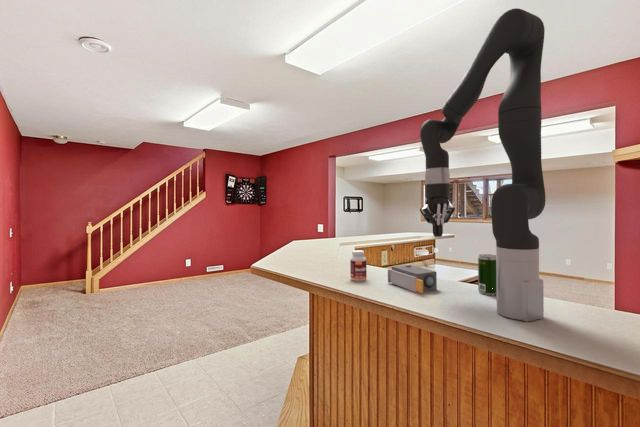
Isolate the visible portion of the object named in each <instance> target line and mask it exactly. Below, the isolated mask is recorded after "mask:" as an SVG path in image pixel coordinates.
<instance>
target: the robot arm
mask: <svg viewBox="0 0 640 427" xmlns="http://www.w3.org/2000/svg"><path fill="white" fill-rule="evenodd" d="M545 32H546V31H545V25H544V22H543V20H542V19H541V17H539V16H538V15H535V14H534V13H531V12H529V11H527V10H525V9H522V8H511V9H508V10H507V11H505V12H503V14H502V15H500V16H499V17H498V19H497V20H496V21H495V23H494V24H493V25H492V27H491V29H490V30H489V32H488V34H487V36H486V37H485V39H484V40H483V42H482V44H481V46H480V48H479V50H478V52H477V53H476V55H475V57H474V58H473V61H472V62H471V64H470V66H469V68H468V70H467V71H466V72H465V74H464V76H463V77H462V79H461V80H460V82H459V83H458V85H457V87H456V88H455V89H454V90H453V91H452V93H451V94H450V95H449V97H448V98H447V100H446V101H445V102H444V103H443V105H442V107H441V113H442V115H443V116H444V118H443V119H442V120H440V119H432V118H431V119H427V120H426V121H425V120H424V122H423V124H422V125H421V127H420V131H419V138H420V141H421V146H422V149H423V153H424V155H425V156H424V157H425V174H424V190H425V191H424V197H425V198H426V201H425V205H424V207H421V208H420V209H419V212H420V213H421V215H422V216H423V218H424V219H425V221H426V222H427V223H428V224H430V225H432V235H433V237H435V238H440V237H443V234H444V231H443V230H444V225H445V224H448V222H449V221H450V219H451V218H452V216H453V214H454V212H455V211H456V208H455V207H454V206H453V207H452V206H451V205H450V200H449V198H450V196H451V174H450V161H449V159H450V158H449V156H450V155H449V154H450V153H449V152H448V151H447V150H446V149H444V148H442V147H441V144H445V143H447V142H450V140H451V139H453V137H454V136H455V135H456V133H457V130H458V129H459V126H460V125H461V122H462V121H463V118H464V117H465V116H466V115H467V114H468V112H470V110H471V109H472V108H473V107H474V105H475V104H476V103H477V101H478V99H479V98H480V96H481V94H482V92H483V89H484V86H485V83H486V80H487V79H488V75H489V73H490V72H491V70H492V68H493V67H494V66H495V64H496V63H497V62H498V61H499V60H500V59H501V57H503V56H504V54H508V56H509V57H508V58H509V68H510V69H509V70H510V71H509V72H510V73H509V74H510V76H509V80H508V84H507V87H506V89H505V91H504V93H503V95H502V97H501V98H500V103H499V105H498V112H497V124H498V125H497V127H498V136H499V140H500V143H501V145H502V147H503V149H504V151H505V153H506V155H507V157H508V160H509V163H510V168H511V183H506V184H505V183H504V184H502V185H500V186H499V187H498V188H496V189H495V191H494V192H493V194H492V197H491V201H490V202H491V203H490V212H491V214H490V215H491V228H492V234H493V238H494V240H495V247H496V248H495V249H496V250H495V253H496V254H495V255H496V279H497V294H496V313H497V314H498V315H500V316H503V317H504V318H509V319H513V320H517V321H518V320H519V321H524V322H532V321H536V320H540V319H543V318H544V301H545V300H544V279H543V278H540V239H539V237H538V236H537V235H536V234H534V233H532V231H531V230H530V226H529V225H530V224H529V223H530V222H529V220H533V219H535V218H538V217H540V215H541V214H543V211H544V209H545V207H546V201H547V200H546V189H545V182H544V172H543V165H542V97H541V96H542V94H541V93H542V88H541V87H542V73H541V71H542V61H543V50H544V44H545V43H544V42H545Z"/></svg>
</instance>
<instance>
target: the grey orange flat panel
mask: <svg viewBox="0 0 640 427" xmlns="http://www.w3.org/2000/svg"><path fill="white" fill-rule="evenodd" d="M387 283H391V284H393V285H395V286H398V287H402V288H404V289H407V290H410V291H412V292H415V293H421V294H423V293H424V291H423V280H420V279H417V277H414V276H411V275H407V274H404V273H401V272H398V271H394V270H392V269H390V268H389V269H387ZM417 291H418V292H417Z"/></svg>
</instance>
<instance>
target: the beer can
mask: <svg viewBox="0 0 640 427" xmlns="http://www.w3.org/2000/svg"><path fill="white" fill-rule="evenodd" d="M477 274H478V276H477V278H478V279H477V281H478V284H477V286H478V290H477V291H478V293H479V294H481V295H484V296H497V279H496V254H488V253H484V254H483V253H482V254H478V258H477ZM492 288H493V289H492Z"/></svg>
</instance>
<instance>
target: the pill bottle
mask: <svg viewBox="0 0 640 427" xmlns="http://www.w3.org/2000/svg"><path fill="white" fill-rule="evenodd" d="M351 254H352V256H351V257H350V265H349V266H350V270H349V271H350V273H349V274H350V280H352V281H355V282H362V281H363V282H364V281H366V280H367V257H365V250H361V249H360V250H359V249H358V250H357V249H356V250H352V251H351Z"/></svg>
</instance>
